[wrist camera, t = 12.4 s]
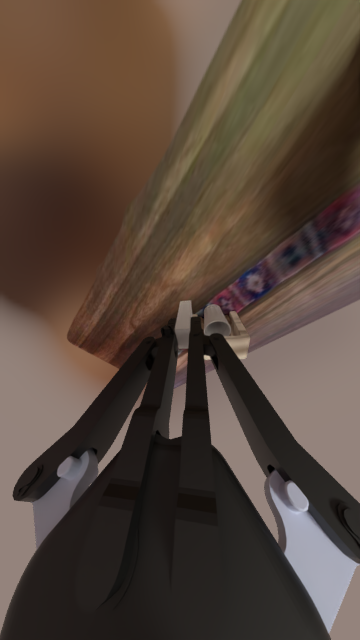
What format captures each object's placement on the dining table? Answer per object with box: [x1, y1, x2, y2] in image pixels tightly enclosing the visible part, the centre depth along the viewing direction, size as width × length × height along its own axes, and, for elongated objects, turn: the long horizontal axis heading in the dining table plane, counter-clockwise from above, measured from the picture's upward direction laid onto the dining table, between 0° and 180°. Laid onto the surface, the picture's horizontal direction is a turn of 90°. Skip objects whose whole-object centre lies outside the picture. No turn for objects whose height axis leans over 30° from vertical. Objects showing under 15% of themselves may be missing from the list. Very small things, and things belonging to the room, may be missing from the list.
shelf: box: [192, 311, 250, 360], centre depth 44 cm, size 8×16×15 cm, turn 98°
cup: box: [204, 304, 231, 336], centre depth 43 cm, size 8×8×12 cm
